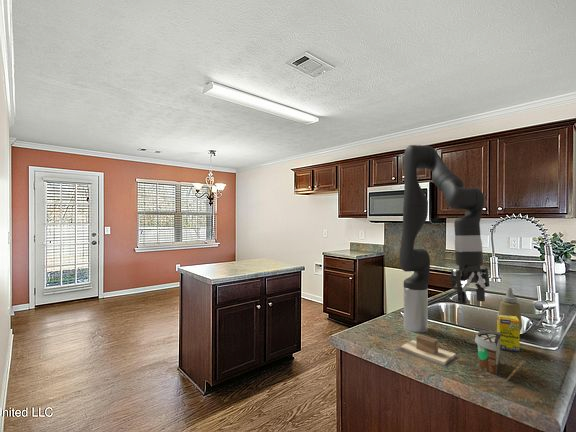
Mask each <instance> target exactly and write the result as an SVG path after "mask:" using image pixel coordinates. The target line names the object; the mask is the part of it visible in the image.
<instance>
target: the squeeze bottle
mask: <svg viewBox="0 0 576 432" xmlns="http://www.w3.org/2000/svg"><path fill="white" fill-rule="evenodd" d="M521 313H522V312H521V306H520V304H519V302H518V298H517V296H514V293H513V289H512V287H507V291H506V294H505V295H502V300H501V301H500V302H499V308H498V314H500V315H507V316H516V317H517V318H518V320H519V321H520V331H522V327H523V323H522V314H521Z"/></svg>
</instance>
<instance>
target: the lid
mask: <svg viewBox="0 0 576 432" xmlns="http://www.w3.org/2000/svg"><path fill="white" fill-rule="evenodd" d="M399 348H400V350H402V351H405V352H408V353H411V354H414V355H416V356H419V357H422V358H425V359H428V360H431V361H433V362H436V363H439V364H442V365H445V364H447V363H448V362H449V361H451V360H452V359H453V358H455V357H456V356H457V354H456V353H455V352H452V351H449V350H446V349H443V348H439V339H436V338H433V337H430V336H426V335H423V334H419V335H418V336H416V340H413V339H412V340H410V341H408V342H407V343H404V344H402V345H401V346H399Z"/></svg>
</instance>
